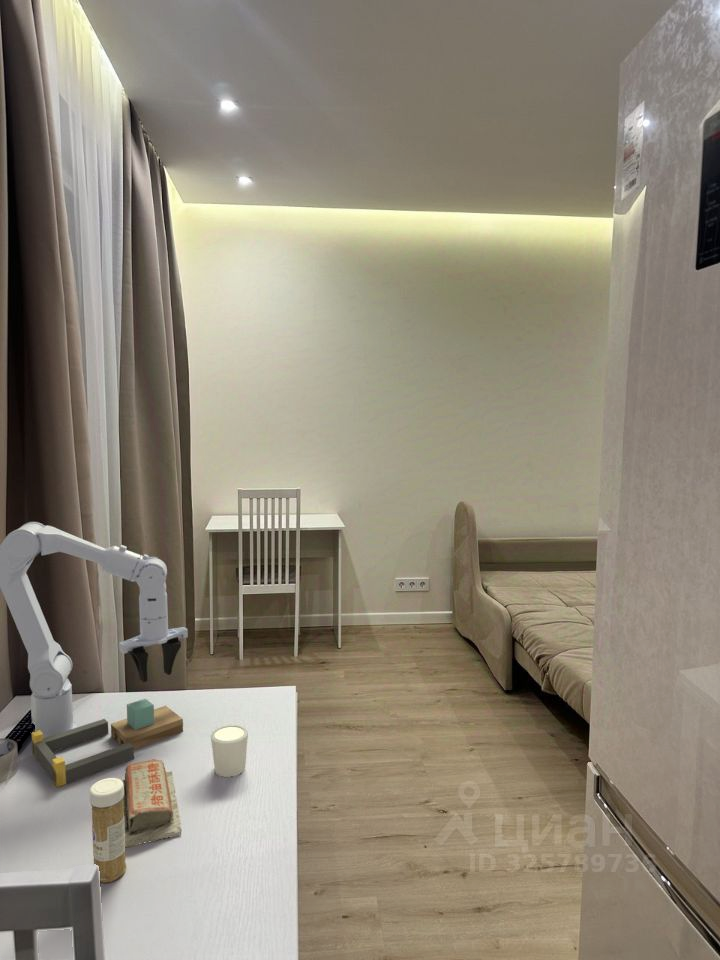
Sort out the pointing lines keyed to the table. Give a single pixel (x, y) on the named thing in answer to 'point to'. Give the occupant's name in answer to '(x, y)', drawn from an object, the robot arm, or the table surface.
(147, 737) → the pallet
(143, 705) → the block
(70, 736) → the dock
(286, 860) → the table surface
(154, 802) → the packaged product
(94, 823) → the sprinkles bottle
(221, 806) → the table surface
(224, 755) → the white cup
